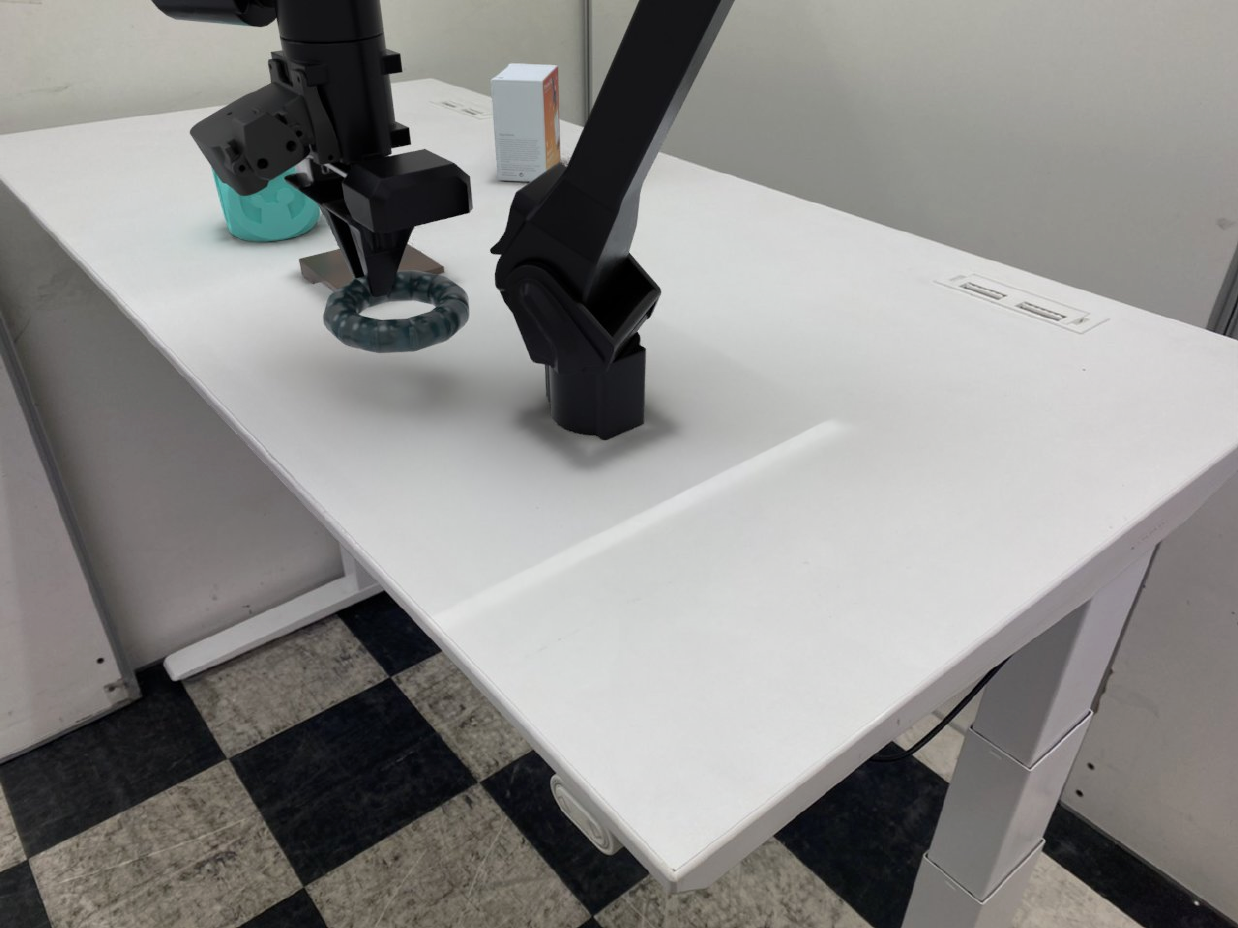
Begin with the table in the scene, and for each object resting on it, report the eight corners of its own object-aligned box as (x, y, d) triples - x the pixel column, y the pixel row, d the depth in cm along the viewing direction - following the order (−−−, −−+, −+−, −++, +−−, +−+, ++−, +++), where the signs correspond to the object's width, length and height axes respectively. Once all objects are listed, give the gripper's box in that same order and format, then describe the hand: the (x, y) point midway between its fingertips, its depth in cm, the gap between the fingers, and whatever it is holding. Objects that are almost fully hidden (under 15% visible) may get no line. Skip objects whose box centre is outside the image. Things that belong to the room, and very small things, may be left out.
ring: (496, 330, 59) (494, 302, 58) (366, 373, 54) (361, 343, 53) (427, 281, 65) (424, 255, 63) (303, 316, 60) (298, 288, 59)
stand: (445, 282, 79) (436, 196, 74) (347, 311, 74) (330, 220, 70) (396, 250, 84) (384, 168, 80) (301, 275, 80) (284, 189, 75)
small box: (546, 184, 100) (542, 81, 94) (496, 181, 100) (489, 78, 94) (562, 162, 106) (559, 64, 100) (514, 159, 107) (509, 62, 101)
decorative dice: (224, 220, 90) (203, 136, 86) (307, 207, 93) (291, 126, 89) (237, 248, 85) (215, 160, 80) (325, 233, 88) (309, 148, 83)
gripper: (134, 24, 54) (201, 274, 63) (252, 86, 42) (315, 383, 51) (315, 5, 60) (353, 237, 69) (465, 55, 48) (487, 327, 57)
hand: (372, 289), depth 61 cm, fingers closed on ring, 2 cm apart
